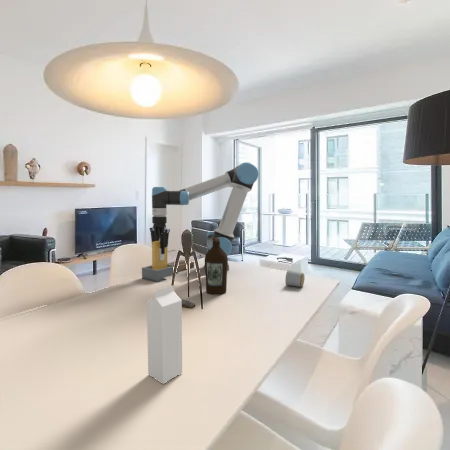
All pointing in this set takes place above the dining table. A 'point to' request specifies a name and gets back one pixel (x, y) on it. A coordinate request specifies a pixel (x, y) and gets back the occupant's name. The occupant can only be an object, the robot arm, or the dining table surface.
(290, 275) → the grey cylinder
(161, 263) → the yellow rectangular slab
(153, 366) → the milk
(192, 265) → the dispenser
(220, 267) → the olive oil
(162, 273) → the bin
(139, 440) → the dining table surface
